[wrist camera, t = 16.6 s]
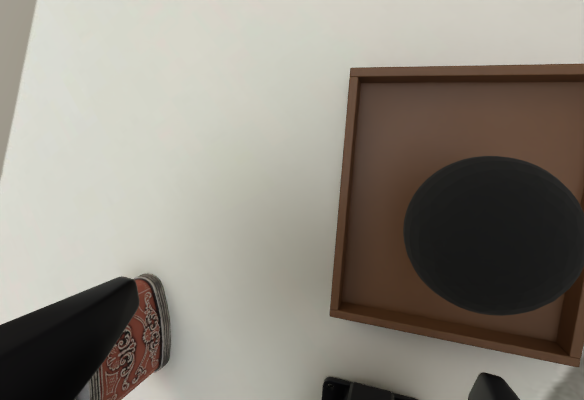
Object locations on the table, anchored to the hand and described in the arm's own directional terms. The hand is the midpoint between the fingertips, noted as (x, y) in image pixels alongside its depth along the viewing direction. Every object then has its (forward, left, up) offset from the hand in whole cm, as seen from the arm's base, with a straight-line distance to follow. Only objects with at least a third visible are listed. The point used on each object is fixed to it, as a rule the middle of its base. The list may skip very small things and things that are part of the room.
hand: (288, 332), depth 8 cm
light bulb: (+2, -6, -14) cm, 15 cm away
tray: (+2, -6, -14) cm, 15 cm away
